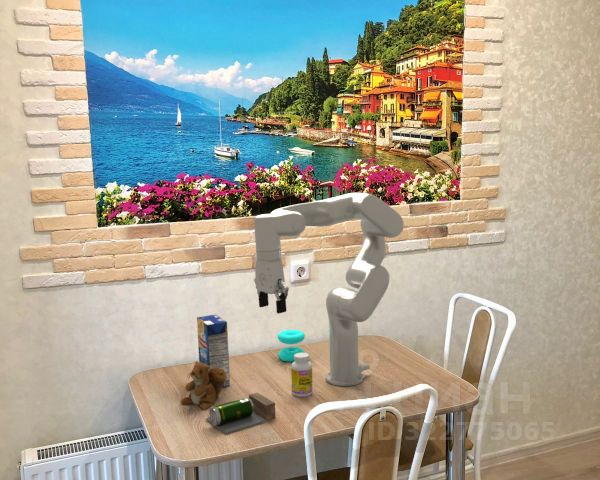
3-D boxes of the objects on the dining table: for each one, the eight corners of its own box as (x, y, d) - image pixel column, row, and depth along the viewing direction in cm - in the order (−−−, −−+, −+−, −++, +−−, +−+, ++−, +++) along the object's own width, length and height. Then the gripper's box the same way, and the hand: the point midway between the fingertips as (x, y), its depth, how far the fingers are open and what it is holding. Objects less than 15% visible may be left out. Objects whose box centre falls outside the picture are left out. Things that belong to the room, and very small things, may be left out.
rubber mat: (245, 408, 194) (244, 406, 194) (265, 422, 185) (265, 420, 185) (206, 419, 187) (206, 418, 187) (225, 434, 177) (225, 432, 177)
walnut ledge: (258, 406, 196) (257, 392, 195) (275, 417, 188) (274, 402, 187) (249, 408, 194) (248, 394, 193) (266, 420, 186) (266, 405, 185)
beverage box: (210, 390, 210) (207, 325, 207) (200, 379, 220) (196, 317, 216) (230, 386, 213) (227, 322, 210) (218, 375, 223) (216, 314, 219)
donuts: (302, 336, 231) (275, 336, 233) (303, 363, 233) (276, 362, 234) (306, 328, 241) (280, 328, 242) (306, 354, 243) (280, 353, 244)
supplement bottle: (297, 399, 201) (296, 359, 199) (288, 392, 206) (287, 353, 204) (316, 394, 204) (315, 356, 202) (306, 388, 209) (305, 350, 207)
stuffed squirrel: (178, 404, 199) (175, 364, 197) (211, 390, 210) (209, 351, 208) (200, 412, 193) (198, 370, 191) (233, 397, 204) (231, 357, 202)
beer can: (244, 395, 190) (208, 405, 184) (253, 398, 186) (216, 409, 179) (246, 413, 190) (210, 424, 184) (255, 417, 186) (218, 428, 179)
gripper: (243, 253, 199) (247, 306, 202) (274, 260, 185) (278, 317, 188) (263, 249, 203) (267, 301, 206) (295, 256, 189) (299, 312, 192)
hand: (272, 309), depth 197 cm, fingers open, 9 cm apart
